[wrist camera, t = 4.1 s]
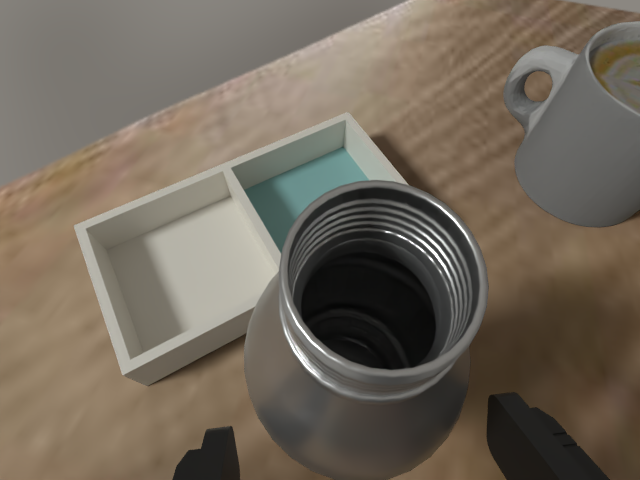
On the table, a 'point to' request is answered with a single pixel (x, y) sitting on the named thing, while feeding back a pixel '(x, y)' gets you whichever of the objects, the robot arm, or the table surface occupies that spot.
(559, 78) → the coffee mug
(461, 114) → the table surface
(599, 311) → the table surface
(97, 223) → the divided tray
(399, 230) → the grey metal bottle
